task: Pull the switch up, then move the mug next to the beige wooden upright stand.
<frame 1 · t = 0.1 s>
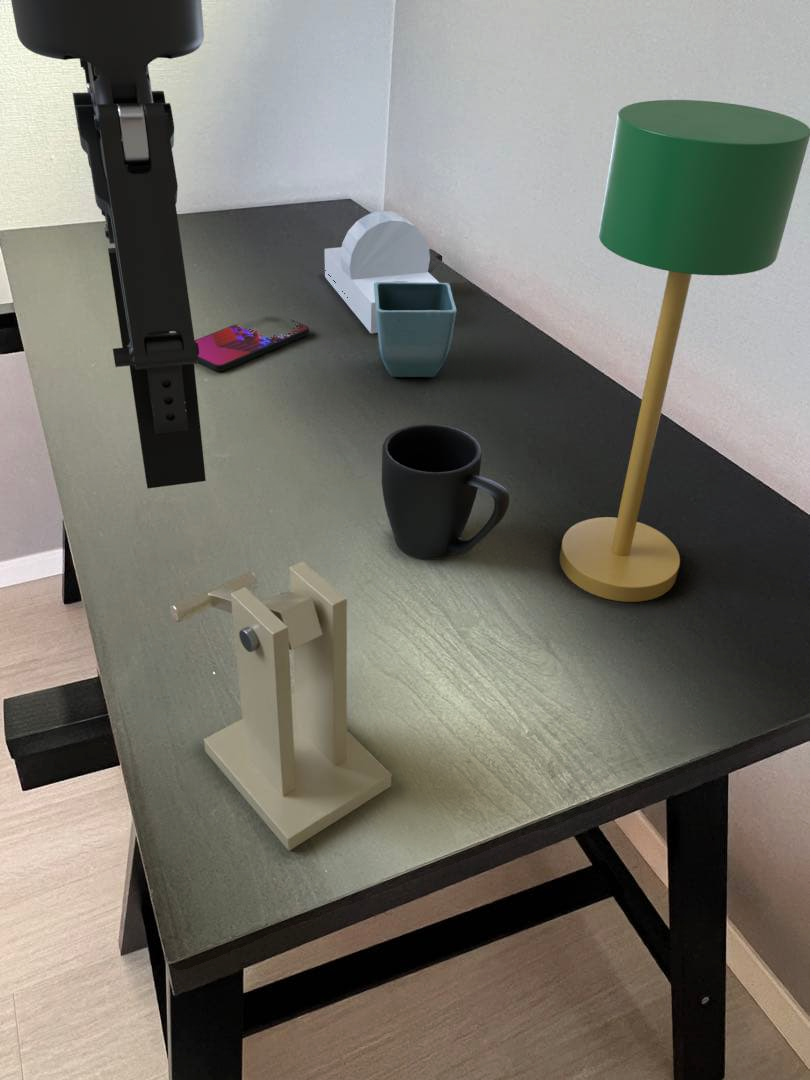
hand: (160, 414, 50), 25 cm above the table, tool pointing down, fingers open, 13 cm apart
smartphone: (246, 345, 115), on the table
beige wooden upright stand: (296, 768, 62), on the table
tape dispenser: (384, 300, 128), on the table
lamp: (617, 565, 82), on the table
switch: (252, 608, 58), point 11 cm above the table, hinge at -25.0°
mug: (441, 552, 83), on the table
flower pot: (410, 370, 111), on the table
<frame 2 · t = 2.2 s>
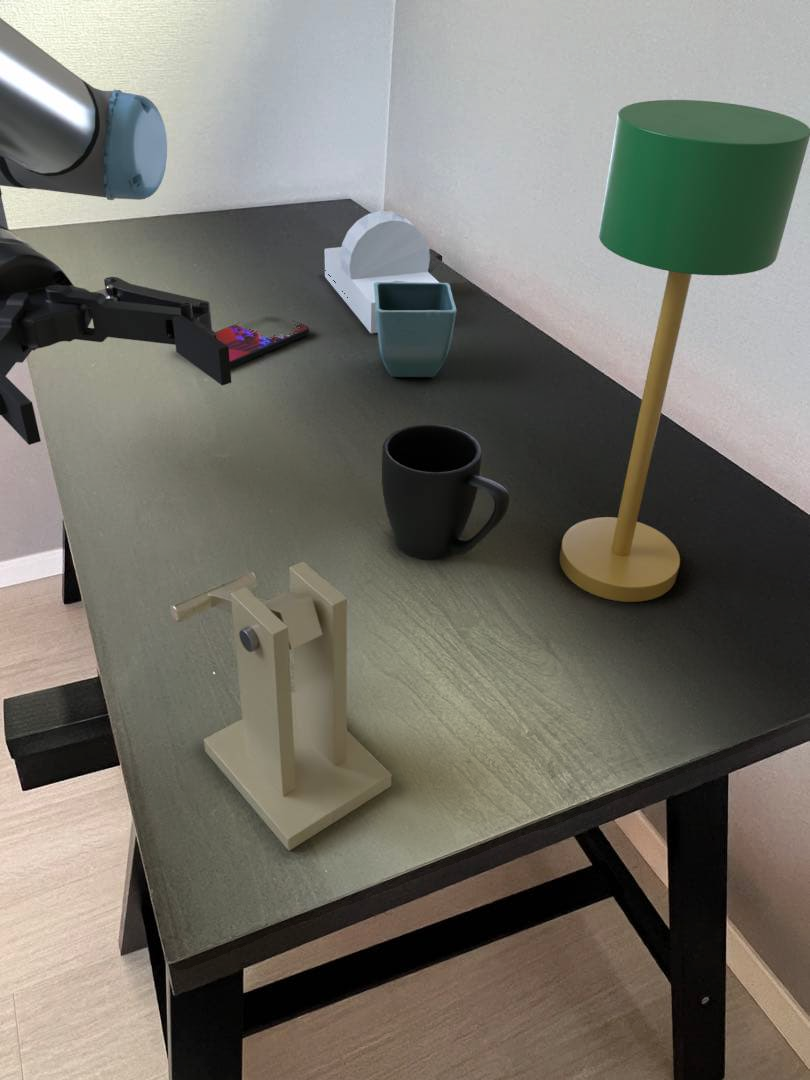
hand: (134, 393, 61), 20 cm above the table, tool horizontal, fingers open, 13 cm apart
nothing on the table moved.
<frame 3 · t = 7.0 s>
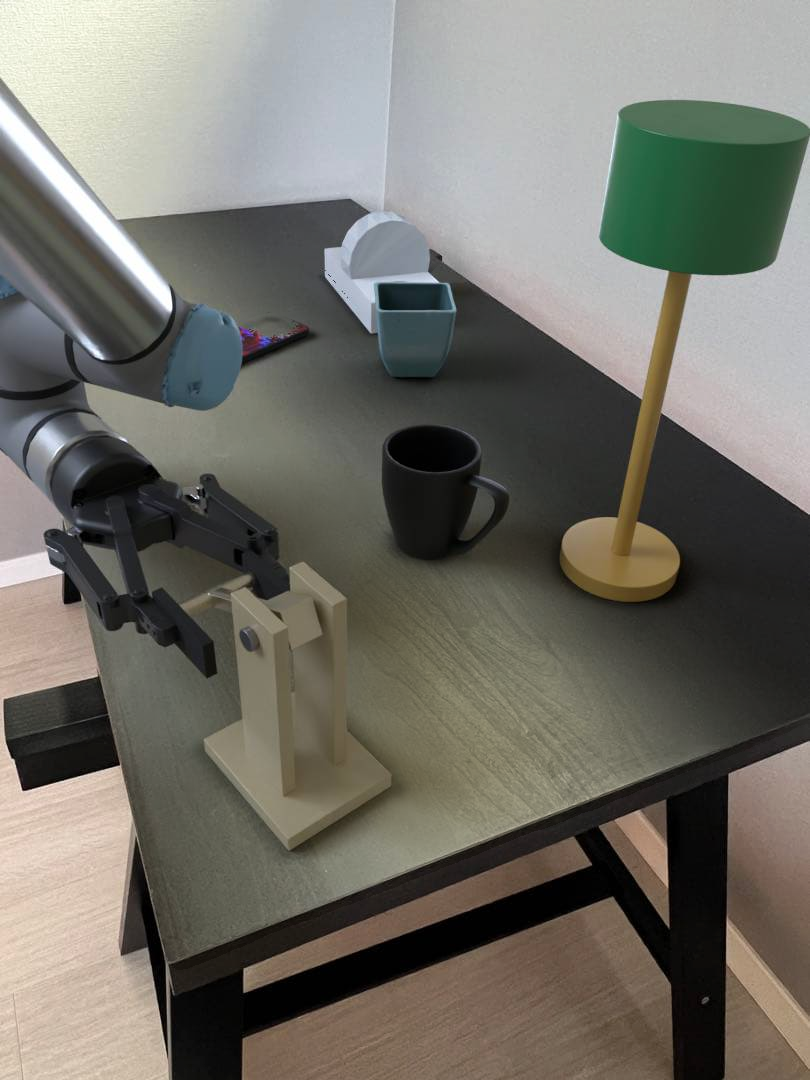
hand: (256, 637, 60), 9 cm above the table, tool horizontal, fingers closed on switch, 6 cm apart
switch: (252, 608, 58), point 11 cm above the table, hinge at -25.0°, touching gripper
everything else where it was.
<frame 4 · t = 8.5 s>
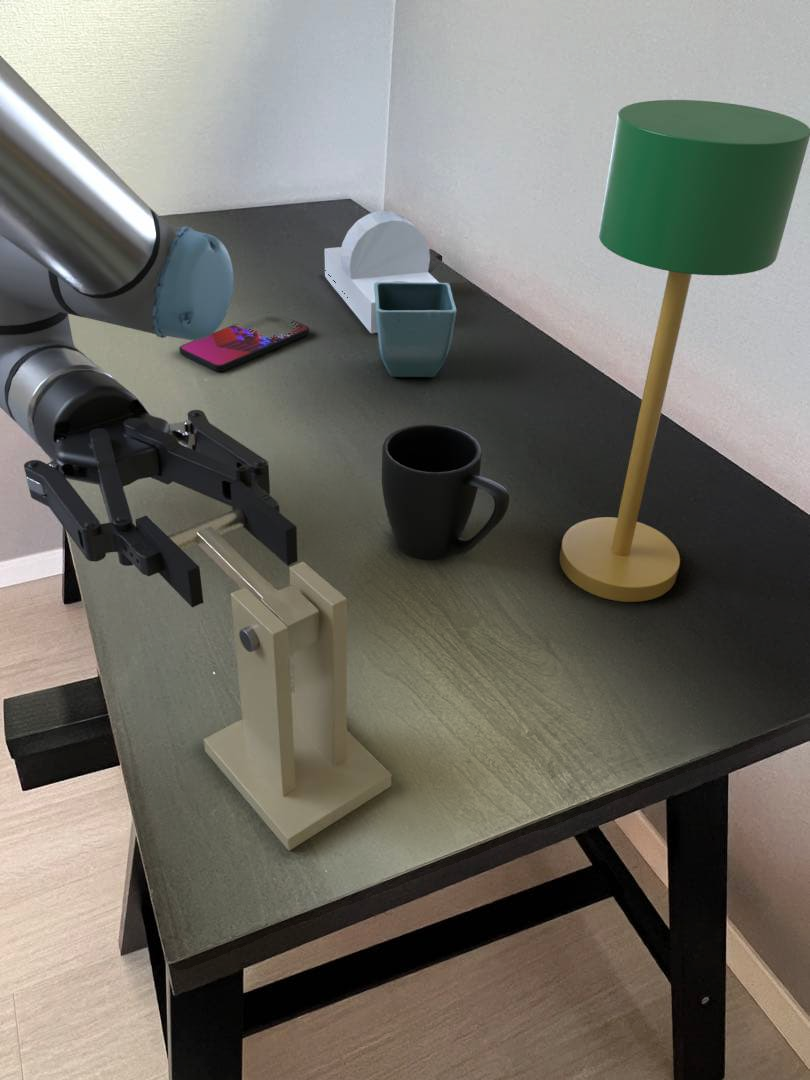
hand: (245, 565, 57), 14 cm above the table, tool horizontal, fingers closed on switch, 6 cm apart
switch: (247, 577, 57), point 13 cm above the table, hinge at 2.6°, touching gripper
everything else where it was.
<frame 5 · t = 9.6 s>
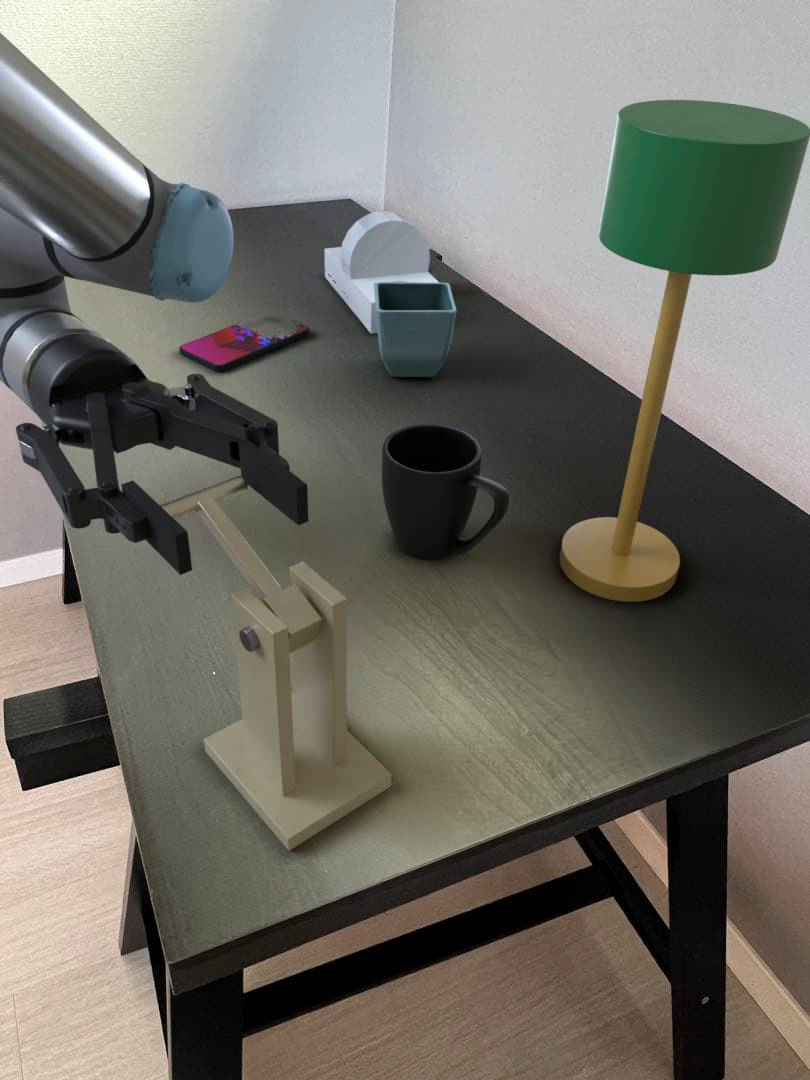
hand: (245, 528, 55), 17 cm above the table, tool horizontal, fingers open, 7 cm apart
switch: (247, 562, 57), point 15 cm above the table, hinge at 19.1°
everything else where it was.
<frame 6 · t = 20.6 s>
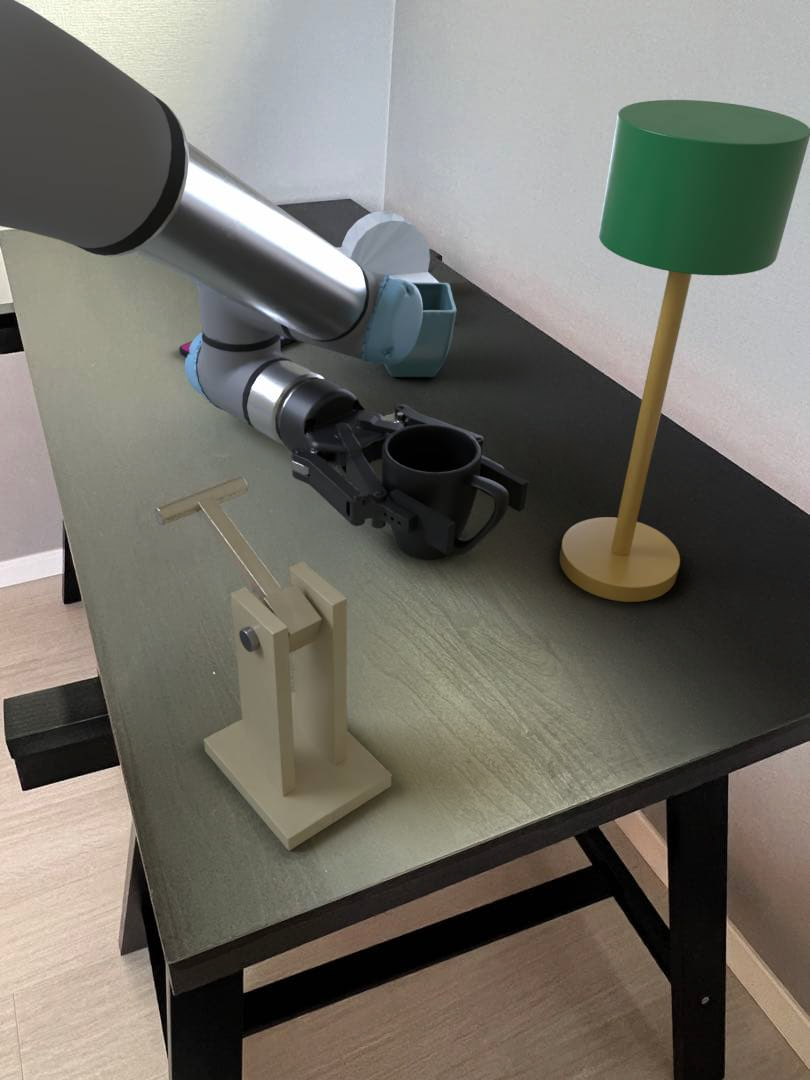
hand: (488, 517, 76), 6 cm above the table, tool horizontal, fingers closed on mug, 8 cm apart
mug: (441, 552, 83), on the table, touching gripper
everything else where it was.
when the fingers open (6 cm above the table, at t = 28.7 s): mug stays where it is, on the table.
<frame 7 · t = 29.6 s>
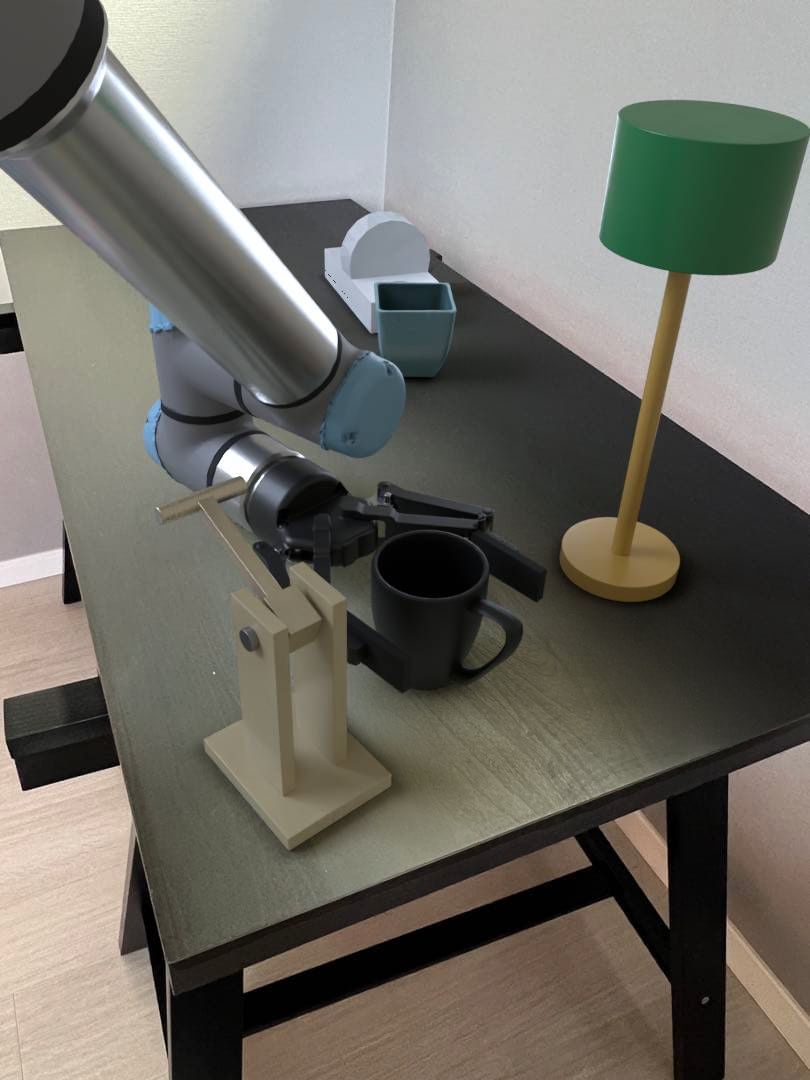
hand: (479, 628, 64), 7 cm above the table, tool horizontal, fingers open, 13 cm apart
mug: (441, 679, 70), on the table
everything else where it was.
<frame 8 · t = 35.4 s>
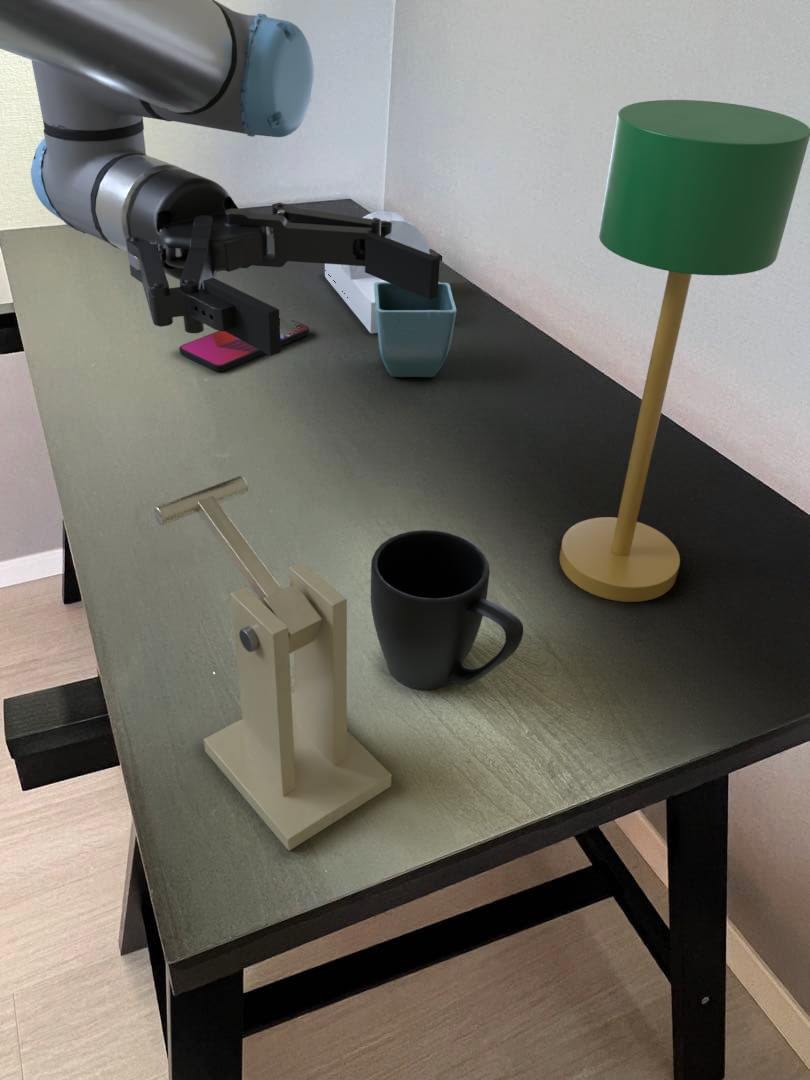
hand: (360, 304, 60), 26 cm above the table, tool horizontal, fingers open, 13 cm apart
nothing on the table moved.
at the end: switch at +19° (first picture: -25°); mug 0.0 cm from the target spot on the table beside the beige wooden upright stand, on the table; mug tilted 0° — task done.
